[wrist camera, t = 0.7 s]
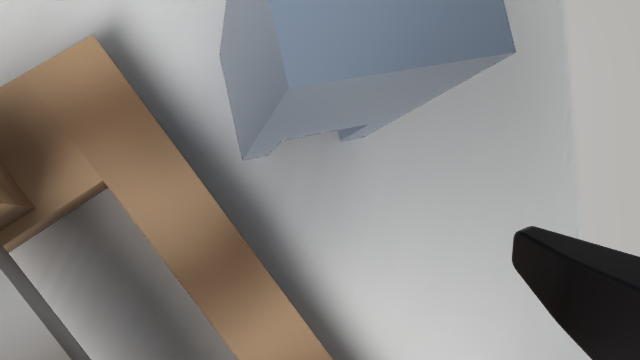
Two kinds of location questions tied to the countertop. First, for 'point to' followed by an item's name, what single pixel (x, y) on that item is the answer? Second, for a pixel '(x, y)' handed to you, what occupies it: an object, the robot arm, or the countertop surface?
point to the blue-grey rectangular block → (349, 62)
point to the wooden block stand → (136, 198)
